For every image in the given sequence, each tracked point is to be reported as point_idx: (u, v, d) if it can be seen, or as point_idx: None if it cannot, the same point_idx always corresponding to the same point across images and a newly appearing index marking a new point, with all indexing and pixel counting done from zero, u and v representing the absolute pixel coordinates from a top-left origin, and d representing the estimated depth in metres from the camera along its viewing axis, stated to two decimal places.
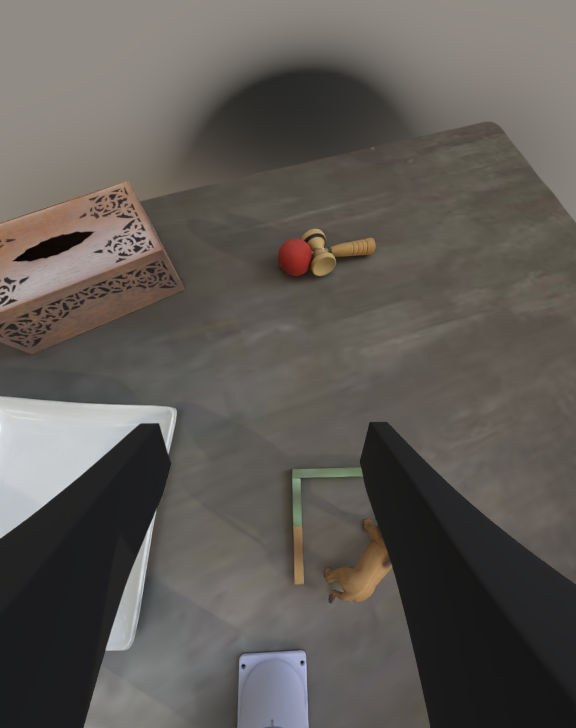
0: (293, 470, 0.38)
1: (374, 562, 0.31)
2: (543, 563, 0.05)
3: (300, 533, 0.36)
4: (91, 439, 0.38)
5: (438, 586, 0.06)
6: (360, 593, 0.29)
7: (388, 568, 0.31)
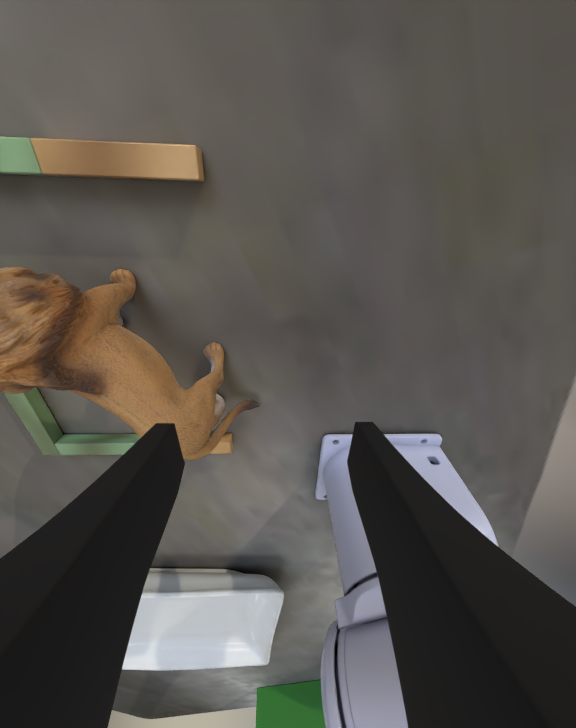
0: (44, 453, 0.20)
1: (104, 407, 0.11)
2: (517, 564, 0.05)
3: None
4: None
5: (415, 587, 0.06)
6: None
7: (109, 375, 0.10)
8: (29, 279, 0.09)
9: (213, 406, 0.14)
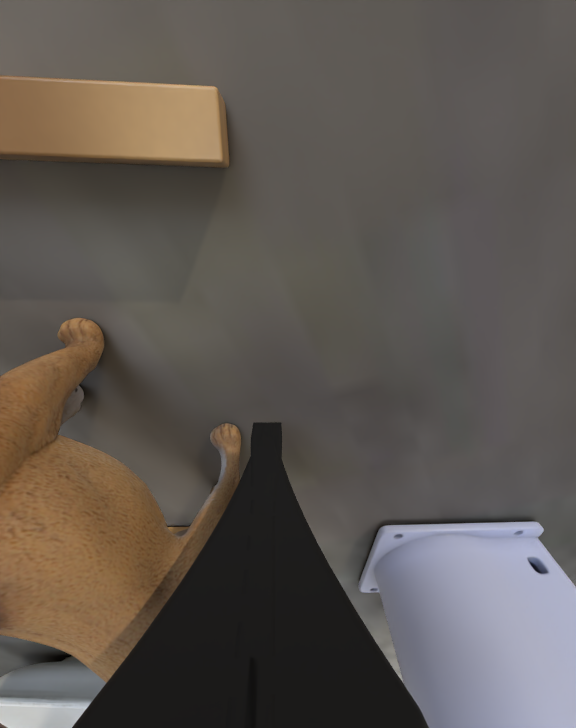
0: None
1: None
2: (325, 570, 0.05)
3: None
4: None
5: None
6: None
7: (14, 594, 0.05)
8: None
9: None
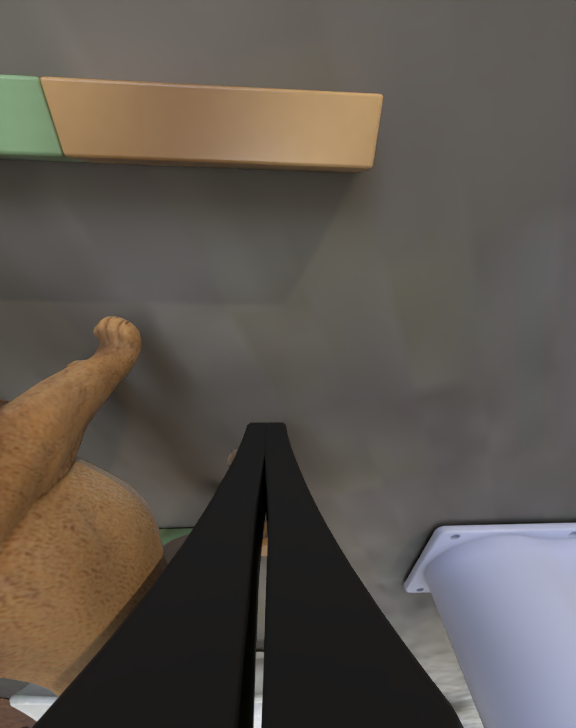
0: None
1: None
2: (347, 569, 0.05)
3: None
4: None
5: None
6: None
7: None
8: None
9: None
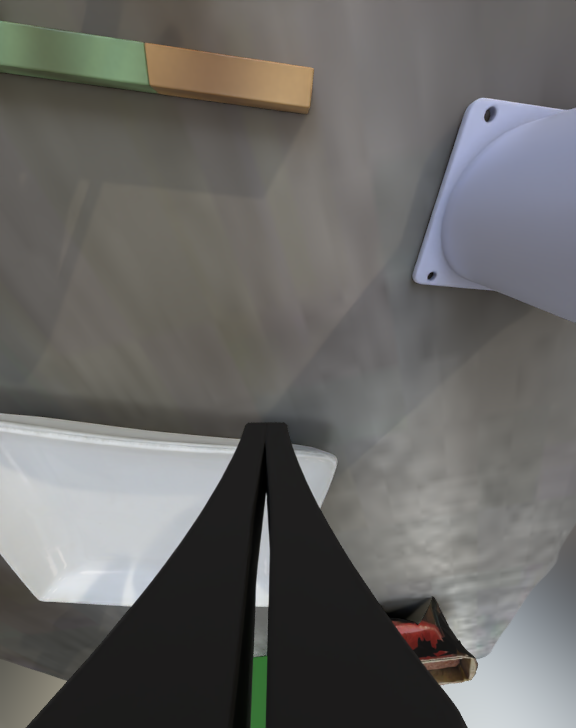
0: None
1: None
2: (350, 569, 0.05)
3: (167, 54, 0.10)
4: (68, 502, 0.24)
5: None
6: None
7: None
8: None
9: None
